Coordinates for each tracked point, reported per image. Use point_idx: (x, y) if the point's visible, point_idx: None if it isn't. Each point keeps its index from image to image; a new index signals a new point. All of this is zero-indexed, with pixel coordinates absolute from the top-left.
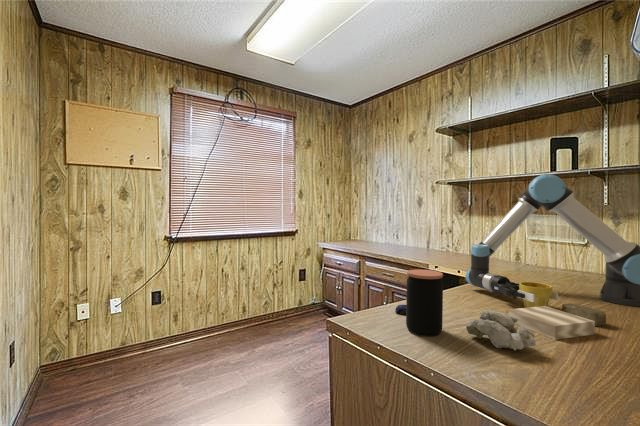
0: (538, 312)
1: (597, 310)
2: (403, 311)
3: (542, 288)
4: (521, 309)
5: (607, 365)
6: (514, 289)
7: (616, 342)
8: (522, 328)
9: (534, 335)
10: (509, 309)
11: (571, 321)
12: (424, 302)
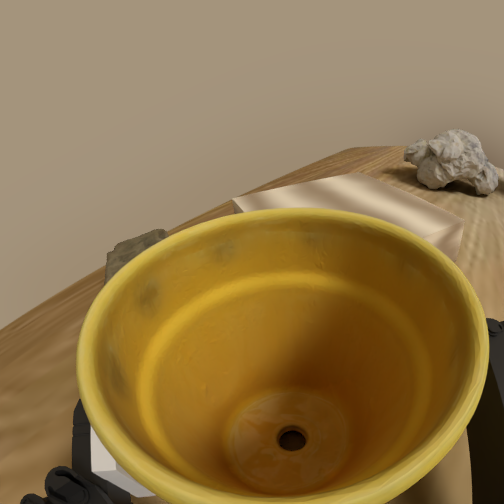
0: (372, 213)
1: (122, 248)
2: None
3: (285, 209)
4: (427, 225)
5: (318, 172)
6: (498, 363)
7: (228, 214)
8: (420, 139)
9: (404, 150)
10: (462, 219)
11: (302, 188)
12: None
